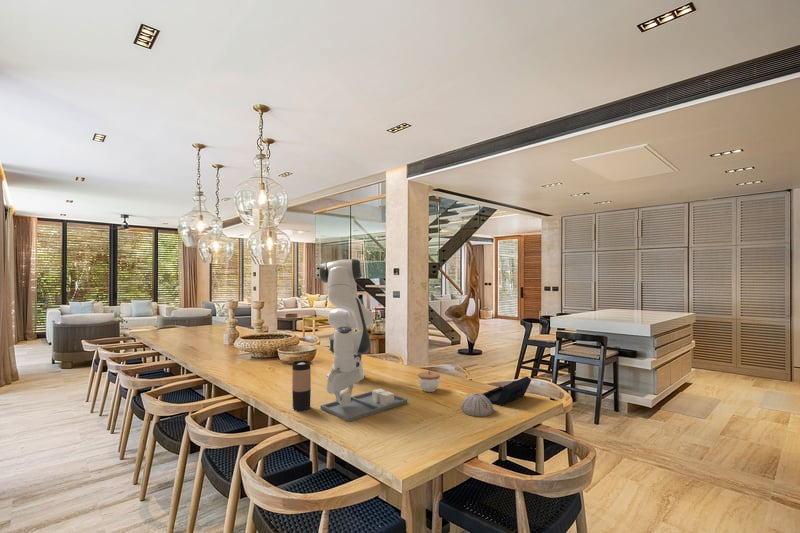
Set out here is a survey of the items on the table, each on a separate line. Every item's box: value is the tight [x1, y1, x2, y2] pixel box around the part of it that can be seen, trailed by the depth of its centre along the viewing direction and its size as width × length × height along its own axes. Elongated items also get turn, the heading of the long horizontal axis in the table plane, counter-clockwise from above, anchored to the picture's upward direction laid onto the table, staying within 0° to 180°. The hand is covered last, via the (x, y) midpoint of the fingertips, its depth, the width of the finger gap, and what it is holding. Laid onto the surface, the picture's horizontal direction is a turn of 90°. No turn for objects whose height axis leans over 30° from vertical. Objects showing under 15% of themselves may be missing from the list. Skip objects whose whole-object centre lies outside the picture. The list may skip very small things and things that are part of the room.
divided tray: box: [320, 390, 408, 423], centre depth 173 cm, size 20×32×2 cm, turn 133°
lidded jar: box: [417, 370, 441, 393], centre depth 197 cm, size 11×11×9 cm
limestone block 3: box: [380, 390, 395, 406], centre depth 174 cm, size 4×4×4 cm
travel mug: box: [291, 360, 312, 412], centre depth 171 cm, size 8×8×20 cm
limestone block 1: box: [338, 389, 352, 405], centre depth 170 cm, size 4×4×4 cm
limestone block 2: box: [371, 388, 386, 403], centre depth 178 cm, size 4×4×4 cm
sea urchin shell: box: [460, 393, 494, 417], centre depth 165 cm, size 13×14×8 cm
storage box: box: [482, 376, 532, 407], centre depth 182 cm, size 21×16×10 cm
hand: (344, 398), depth 170 cm, fingers closed on limestone block 1, 6 cm apart
